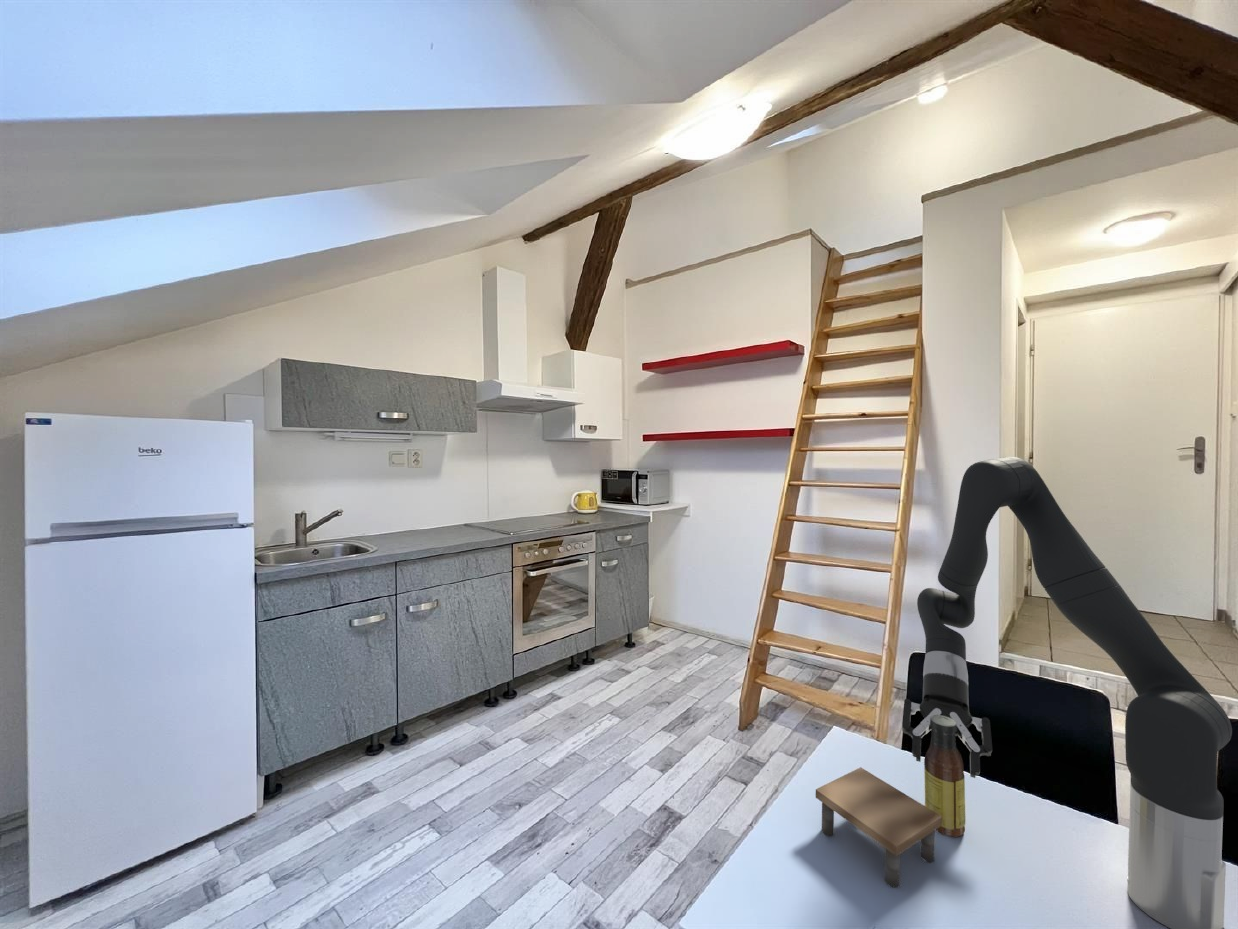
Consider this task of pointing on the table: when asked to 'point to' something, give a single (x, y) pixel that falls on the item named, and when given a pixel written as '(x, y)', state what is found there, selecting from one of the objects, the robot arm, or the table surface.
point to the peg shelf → (880, 816)
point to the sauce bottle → (945, 777)
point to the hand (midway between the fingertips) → (945, 768)
